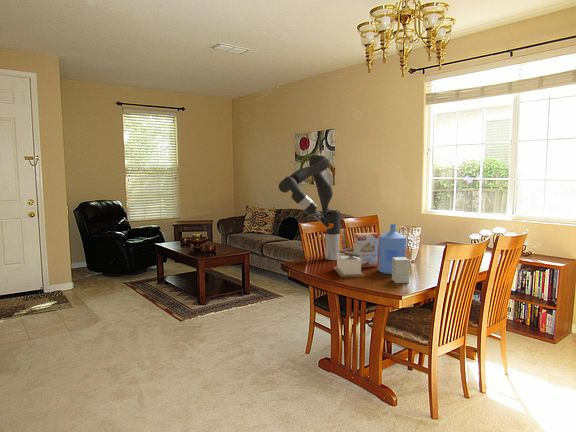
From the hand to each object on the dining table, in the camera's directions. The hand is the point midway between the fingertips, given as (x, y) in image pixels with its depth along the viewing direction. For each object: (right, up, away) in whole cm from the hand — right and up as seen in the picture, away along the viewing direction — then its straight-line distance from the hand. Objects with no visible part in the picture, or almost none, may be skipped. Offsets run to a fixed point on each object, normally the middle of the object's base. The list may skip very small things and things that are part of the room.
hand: (328, 226), depth 241 cm
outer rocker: (+13, -17, -2) cm, 21 cm away
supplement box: (+37, -30, -15) cm, 50 cm away
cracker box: (+25, -26, +20) cm, 41 cm away
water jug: (+38, -27, +7) cm, 47 cm away
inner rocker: (+12, -16, +9) cm, 22 cm away
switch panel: (+12, -27, +5) cm, 30 cm away
